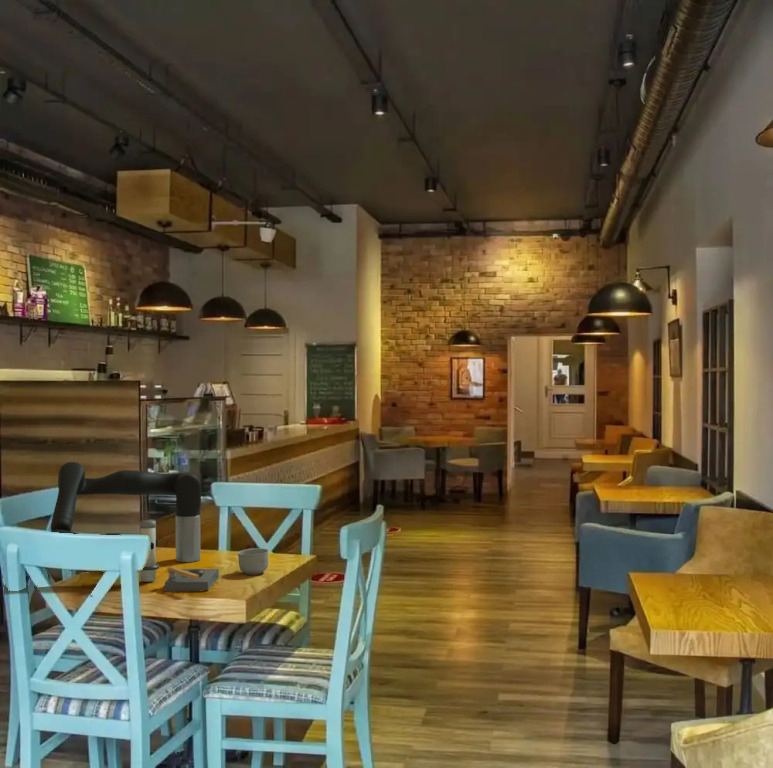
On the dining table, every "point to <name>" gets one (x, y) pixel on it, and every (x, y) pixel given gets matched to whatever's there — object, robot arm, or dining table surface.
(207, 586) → the grey flat block
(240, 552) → the teacup
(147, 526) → the grey tall cylinder
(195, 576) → the clip
